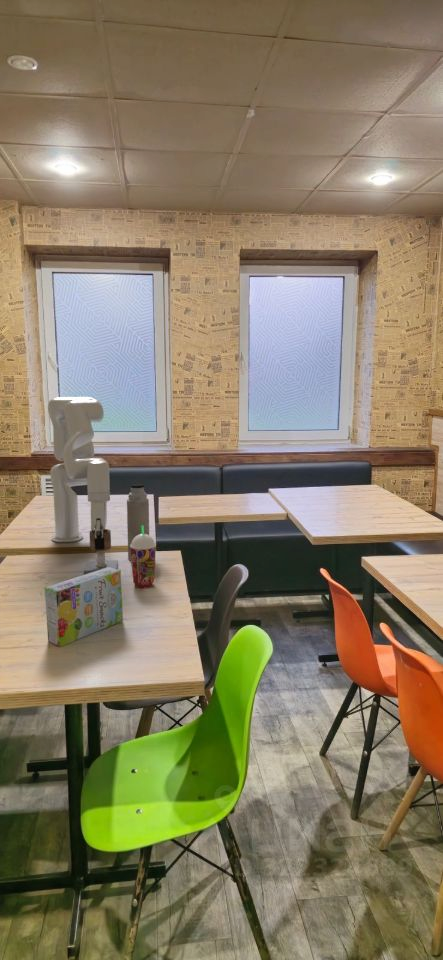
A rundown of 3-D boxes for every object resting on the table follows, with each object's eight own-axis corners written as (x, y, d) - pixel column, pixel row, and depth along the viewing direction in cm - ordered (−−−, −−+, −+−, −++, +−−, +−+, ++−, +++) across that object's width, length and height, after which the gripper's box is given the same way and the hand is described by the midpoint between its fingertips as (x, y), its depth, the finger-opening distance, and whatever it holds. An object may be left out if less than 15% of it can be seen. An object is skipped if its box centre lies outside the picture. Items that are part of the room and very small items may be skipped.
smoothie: (152, 590, 192) (151, 529, 188) (127, 588, 194) (125, 528, 190) (159, 582, 200) (159, 523, 197) (135, 580, 202) (134, 522, 198)
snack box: (110, 616, 172) (108, 565, 169) (123, 621, 168) (122, 570, 166) (46, 641, 156) (43, 586, 153) (59, 648, 152) (57, 591, 149)
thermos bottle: (131, 554, 230) (129, 482, 225) (151, 555, 229) (150, 482, 225) (125, 560, 222) (123, 486, 217) (147, 561, 222) (145, 486, 217)
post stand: (86, 565, 217) (86, 548, 216) (117, 564, 219) (117, 548, 218) (83, 575, 207) (83, 558, 206) (116, 573, 208) (115, 557, 207)
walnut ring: (91, 545, 214) (90, 529, 213) (111, 545, 215) (110, 528, 214) (89, 551, 207) (88, 534, 206) (110, 550, 208) (109, 533, 207)
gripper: (90, 491, 216) (92, 540, 219) (85, 501, 199) (87, 553, 202) (111, 491, 217) (112, 539, 220) (108, 501, 200) (110, 552, 203)
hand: (100, 545), depth 211 cm, fingers closed on walnut ring, 7 cm apart
